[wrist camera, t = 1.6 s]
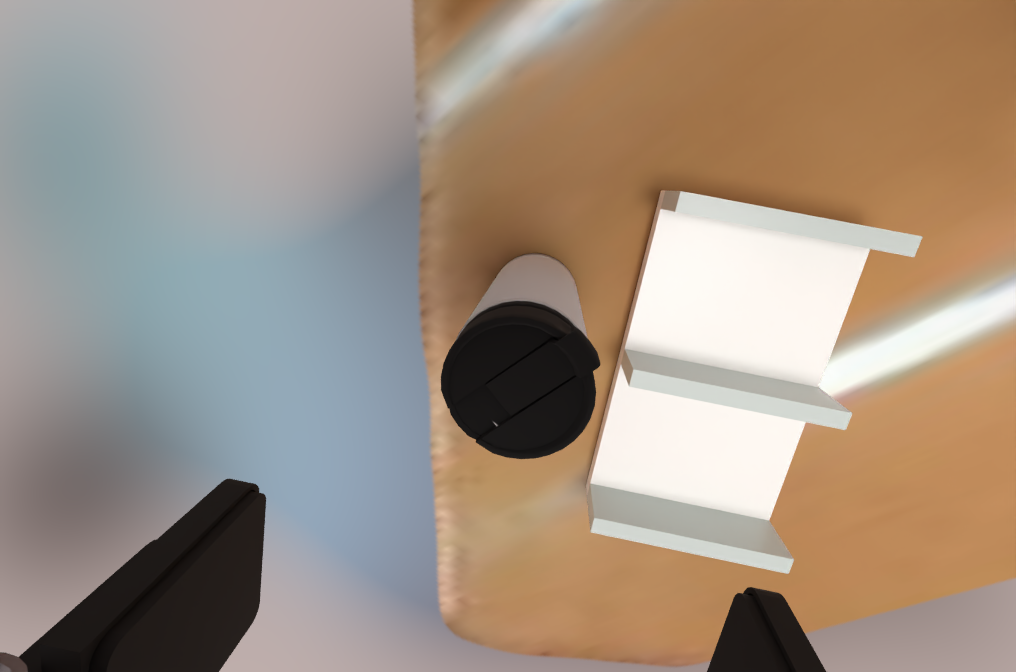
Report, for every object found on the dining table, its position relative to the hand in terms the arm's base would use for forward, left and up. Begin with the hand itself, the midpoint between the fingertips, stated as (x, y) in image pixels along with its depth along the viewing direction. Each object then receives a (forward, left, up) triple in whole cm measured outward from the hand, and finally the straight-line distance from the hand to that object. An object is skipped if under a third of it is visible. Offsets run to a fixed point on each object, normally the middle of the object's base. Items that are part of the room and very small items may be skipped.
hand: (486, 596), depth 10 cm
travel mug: (0, 0, -31) cm, 31 cm away
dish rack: (+3, +14, -30) cm, 34 cm away
